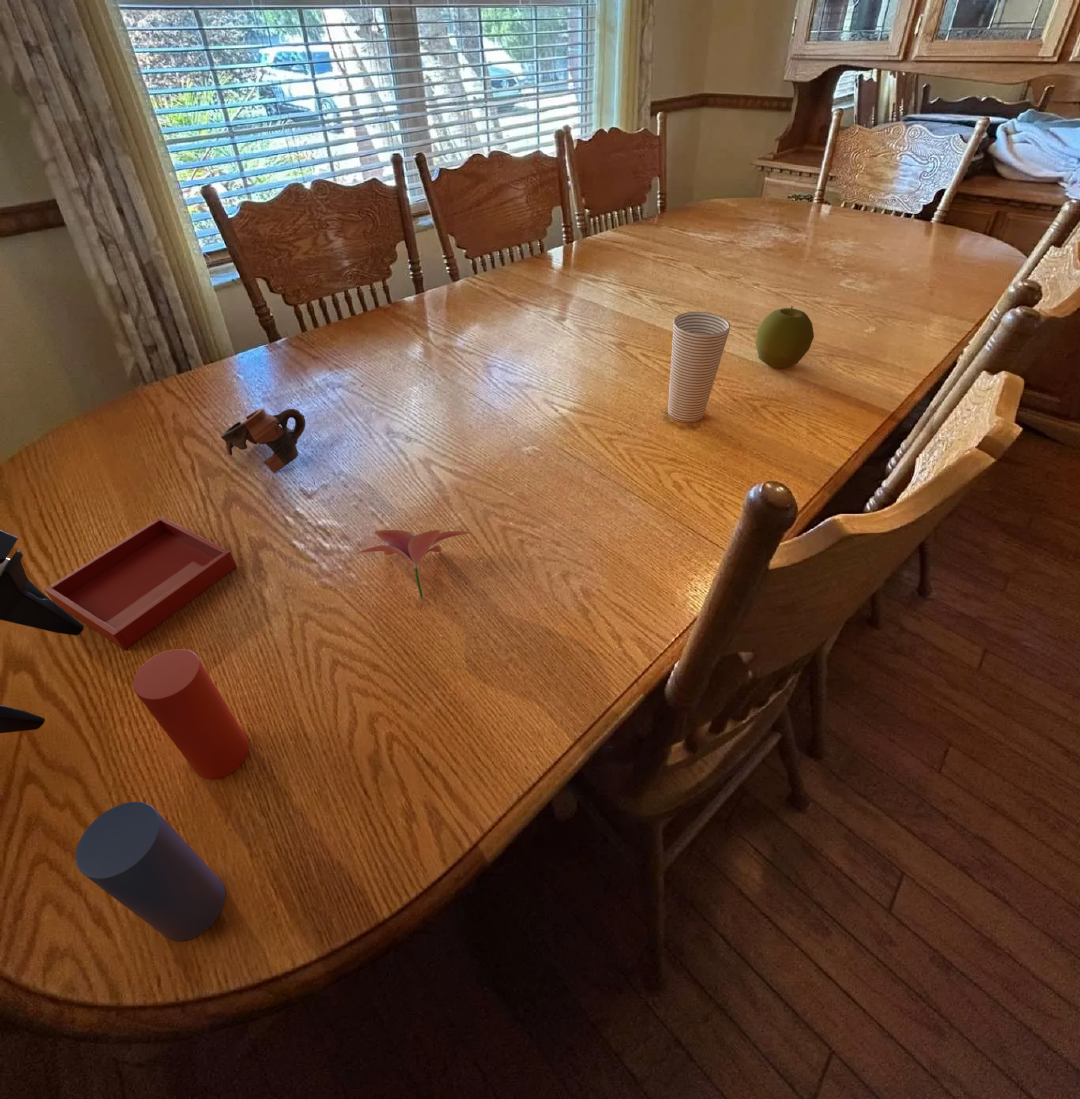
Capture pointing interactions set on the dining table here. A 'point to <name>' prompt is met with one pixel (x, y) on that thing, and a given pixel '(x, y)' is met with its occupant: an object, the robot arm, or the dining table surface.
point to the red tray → (141, 581)
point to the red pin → (192, 712)
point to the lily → (411, 545)
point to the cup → (694, 362)
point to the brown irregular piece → (268, 435)
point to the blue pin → (151, 871)
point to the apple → (784, 337)
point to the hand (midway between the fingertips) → (63, 674)
